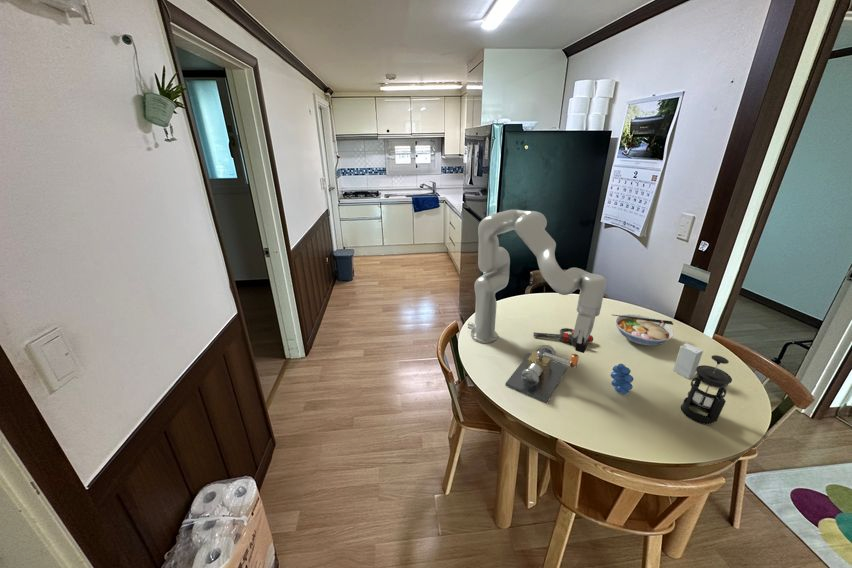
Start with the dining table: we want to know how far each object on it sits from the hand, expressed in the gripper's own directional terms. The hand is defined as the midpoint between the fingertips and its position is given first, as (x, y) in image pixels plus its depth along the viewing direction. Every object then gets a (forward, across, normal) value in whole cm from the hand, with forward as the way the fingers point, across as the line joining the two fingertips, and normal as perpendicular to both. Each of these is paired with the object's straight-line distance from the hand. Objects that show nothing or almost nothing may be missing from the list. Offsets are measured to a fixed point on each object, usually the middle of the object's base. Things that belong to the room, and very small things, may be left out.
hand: (580, 350), depth 125 cm
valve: (+13, -26, -13) cm, 32 cm away
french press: (+13, -5, +39) cm, 41 cm away
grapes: (+13, -2, +16) cm, 21 cm away
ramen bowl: (+13, -45, +17) cm, 50 cm away
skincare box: (+13, -28, +34) cm, 46 cm away
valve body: (+13, +8, -12) cm, 19 cm away
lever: (+3, +8, -6) cm, 10 cm away
